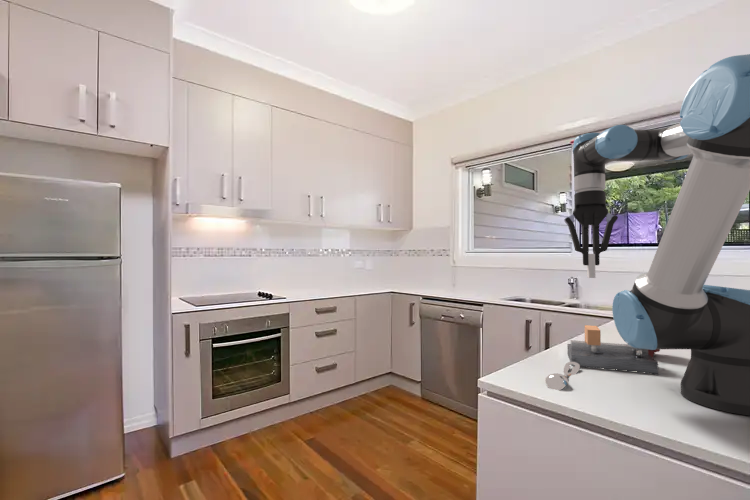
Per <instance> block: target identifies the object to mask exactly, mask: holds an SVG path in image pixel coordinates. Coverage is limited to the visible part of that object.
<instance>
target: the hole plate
mask: <svg viewBox="0 0 750 500" xmlns="http://www.w3.org/2000/svg"><path fill="white" fill-rule="evenodd" d="M567 356H568V360H569V362H576V363H578V364H579V365H580V368H588V367H590V369H598V368H604V369H603V370H608V369H615V370H614V371H619V370H627V371H626V372H629V371H637V372H636V373H639V372H645V373H644V374H650V373H654V374H653V375H659V374H658V373H659V371H658V370H659V367H658V366H659V364H658V363H659V362H658V361H657V360H656V359H655V358H654V356H653V357H651V356H650V355H649V354H648V355H642V357H637V356H636V354H624V353H611V352H599V351H596V352H592V351H587V350H575V349H571V343H567ZM574 366H575V365H570V367H574ZM616 369H617V370H616Z"/></svg>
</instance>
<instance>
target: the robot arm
mask: <svg viewBox="0 0 750 500" xmlns="http://www.w3.org/2000/svg"><path fill="white" fill-rule="evenodd" d="M679 118H680V119H681V120H680V122H679V123H676V124H673V125H671V126H667V127H664V128H656V129H634V128H633V127H631V126H628V125H626V124H616V125H614V126H611V127H609V128H607V129H604V130H603V131H602V132H588V133H583V134H580V135H578V136H576V137H575V139H574V140H573V149H572V154H573V157H572V158H573V178H574V181H573V182H574V183H573V187H574V188H573V191H574V192H575V194H574V196H573V199H574V201H573V202H574V208H573V211H572V214H571V215H569V216H567V217H565V219H564V220H563V221H564V222H565V224H566V226H568V230H569V233H570V236H571V239H572V240H571V241H572V244H573V247H574V251H576V252H577V253H581V254H582V264H583V266H586V267H587V269H586V270H587V271H586V272H587V273H586V274H587V275H586V276H587V278H588V279H596V266H600V264H601V263H600V254H601V253H603V252H606V251H607V250H608V248H609V244H610V239H611V236H612V232H613V228H614V224H615V223H616V222H617V220H618V218H619V216H617V215H614V214H612V213H610V212H609V209H608V208H607V199H606V198H607V197H606V195H607V194H606V193H607V192H605V189H606V164H607V165H608V164H609V163H611V162H641V161H665V162H671V161H681V160H685V159H686V158H687V157H688V156H689V155H693V156H692V159H691V161H690V163H689V166H688V169H687V171H686V174H685V177H684V179H683V182H682V184H681V187H680V189H679V192H678V194H677V198H676V199H675V203H674V204H673V208H672V210H671V213H670V215H669V218H668V220H667V222H666V225H665V228H664V231H663V234H662V236H661V239H660V241H659V244H658V246H657V249H656V251H655V254H654V256H653V259H652V260H651V264H650V267H649V270H648V272H645V273H642V274H639V275H638V276H637V277H636V278H635V281H634V284H633V285H632V289H631V290H628V289H624V290H622V291H618V292H617V293H616V294H615V295H614V298H613V299H612V308H611V309H612V312H611V313H612V318H613V321H614V325H615V328H616V330H617V332H618V334H619V335H620V338H622V340H623V341H624V342H625V343H626V344H629V345H630V346H632V347H634V348H640V349H649V350H655V349H660V350H690V359H689V362H688V364H687V366H686V369H685V370H684V374H683V376H682V378H681V381H680V395H681V396H682V397H684V398H685V399H686V400H689V401H691V402H694V403H695V404H698V405H701V406H703V407H706V408H711V409H713V410H717V411H722V412H726V413H732V414H737V415H742V416H750V289H744V288H735V287H726V286H718V285H710V284H709V285H708V284H706V281H707V279H708V278H709V275H710V273H711V271H712V269H713V267H714V264H715V263H716V260H717V258H718V257H719V254H720V252H721V250H722V248H723V246H724V244H725V242H726V240H727V239H728V236H729V233H730V232H731V230H732V228H733V226H734V224H735V221H736V219H737V217H738V215H739V213H740V211H741V209H742V207H743V205H744V203H745V201H746V198H747V196H748V195H749V192H750V53H748V54H740V55H732V56H729V57H726V58H723V59H720V60H718V61H717V62H716V61H715V62H714V63H713V64H712V65H710V66H709V67H708V68H707V69H706V70H704V71H702V73H700V74H699V75H698V76H697V77H696V79H695V80H694V81H693V82H692V83H691V85H690V87H689V89H688V90H687V92H686V94H685V96H684V98H683V100H682V103H681V107H680V110H679ZM604 219H605V221H606V222H607V223H606V226H605V229H604V233H603V237H602V240H601V244H600V224H601V223H602V222H603V221H604ZM575 221H577V222H578V223H579V224H580V225H581V234H582V235H581V243H580V239H579V237H578V234H577V233H578V232H577V229H576V226H575V224H574V223H575ZM590 226H591V229H592V230H591V231H592V252H593V253H589V251H590V250H589V249H590V247H589V246H590V245H589V241H590V240H589V227H590ZM581 245H582V246H581Z"/></svg>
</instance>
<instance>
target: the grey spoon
mask: <svg viewBox="0 0 750 500" xmlns="http://www.w3.org/2000/svg"><path fill="white" fill-rule="evenodd" d="M571 365H575V366H572V370H570V369H571ZM563 366H564V367H563V374H562V373H550V374H548V375H547V376H546V377H545V384H546V386H547V387H548V389H550V390H555V391H561V390H562V389H564V388H565V387H566V386H567V385H568V384H569V381H570V380H569V378H570V377H571V376H573V375H576V374H577V373H578V372H579V370H580V368H581V367H580V365H579V364H578V363H576V362H570V361H568V362H566V363H565V364H564V365H563Z"/></svg>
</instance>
